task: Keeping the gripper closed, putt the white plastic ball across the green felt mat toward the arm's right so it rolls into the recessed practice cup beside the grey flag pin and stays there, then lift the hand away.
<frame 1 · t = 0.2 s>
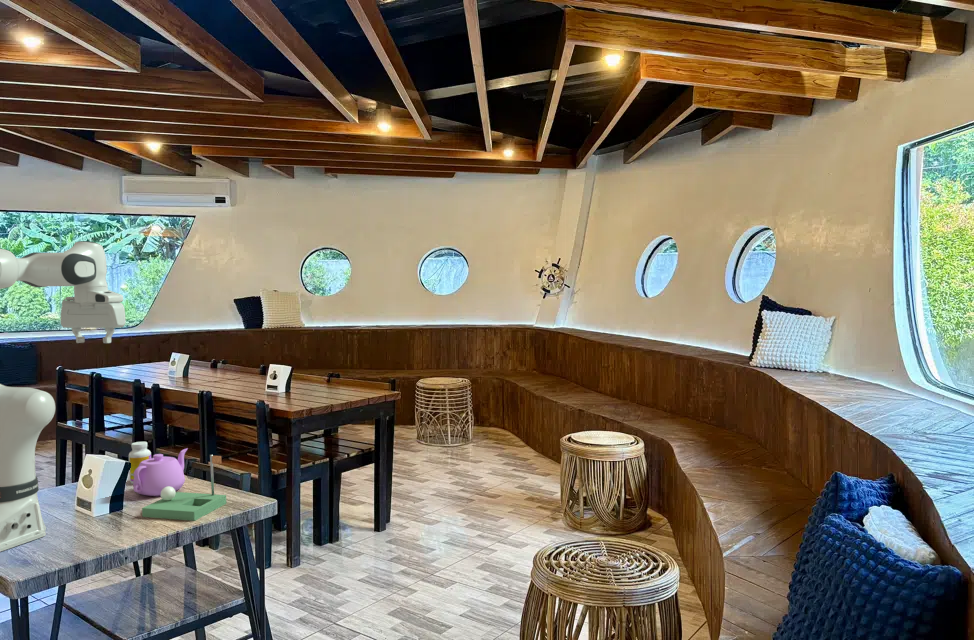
hand: (93, 342, 218), 47 cm above the table, fingers open, 8 cm apart
mat: (185, 509, 210), on the table
teapot: (162, 491, 229), on the table
flag pin: (213, 503, 215), resting on mat
ball: (168, 493, 211), point 4 cm above the table, touching mat
supplement bottle: (141, 482, 239), on the table
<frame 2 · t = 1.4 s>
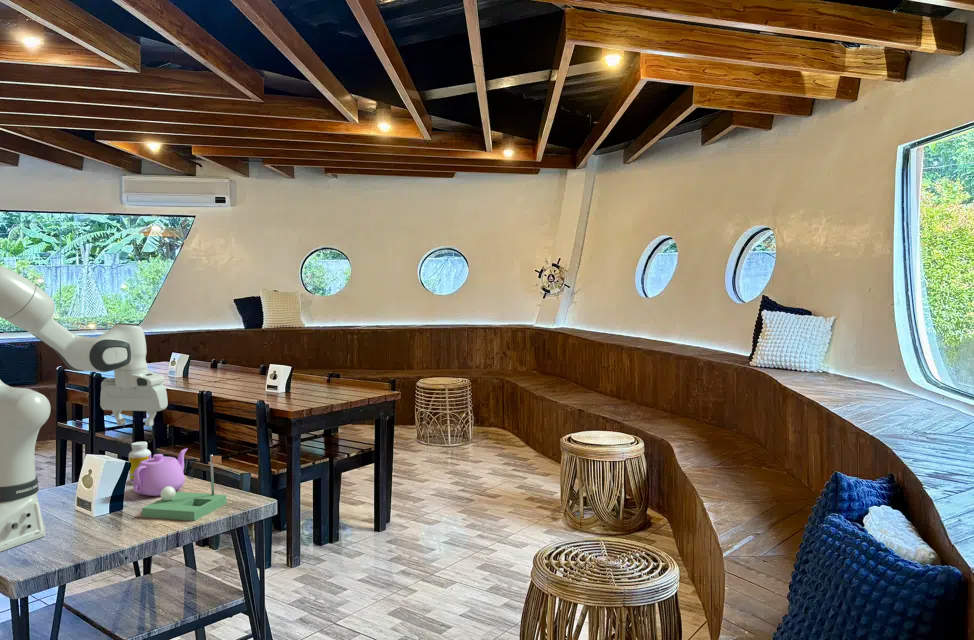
hand: (135, 425, 213), 24 cm above the table, fingers open, 8 cm apart
nothing on the table moved.
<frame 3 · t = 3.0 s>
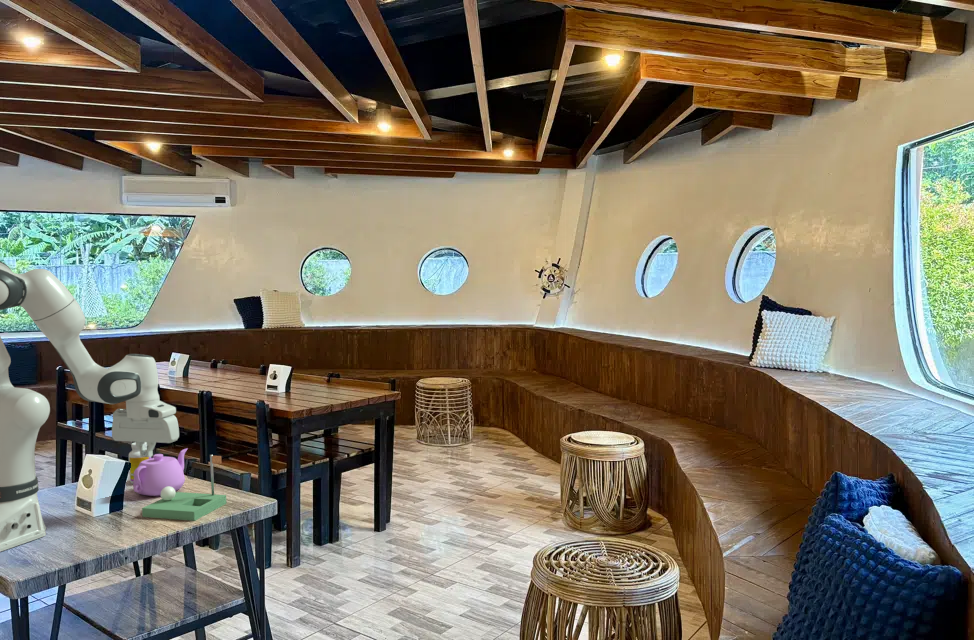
hand: (146, 456, 212), 15 cm above the table, fingers closed
nothing on the table moved.
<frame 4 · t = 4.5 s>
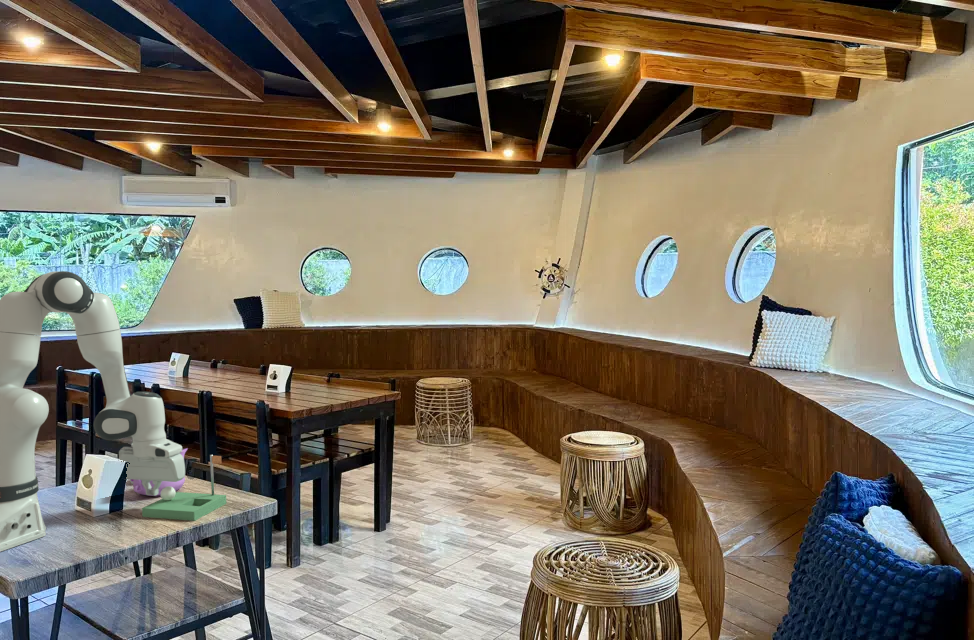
hand: (152, 494, 212), 4 cm above the table, fingers closed
nothing on the table moved.
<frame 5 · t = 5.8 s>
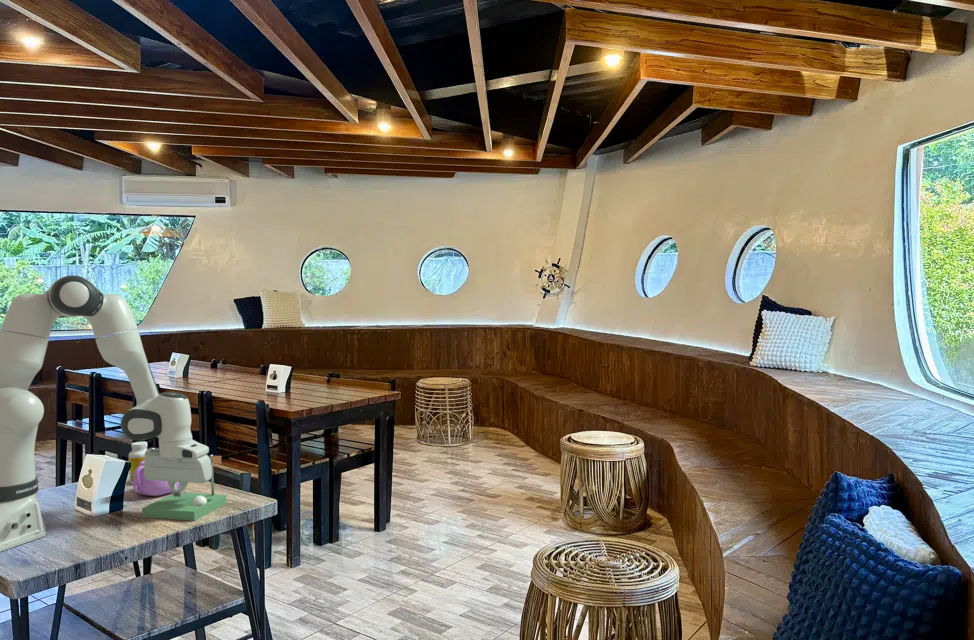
hand: (178, 496, 210), 4 cm above the table, fingers closed
ball: (199, 502, 209), point 2 cm above the table, tilted 53°, touching mat
everything else where it was.
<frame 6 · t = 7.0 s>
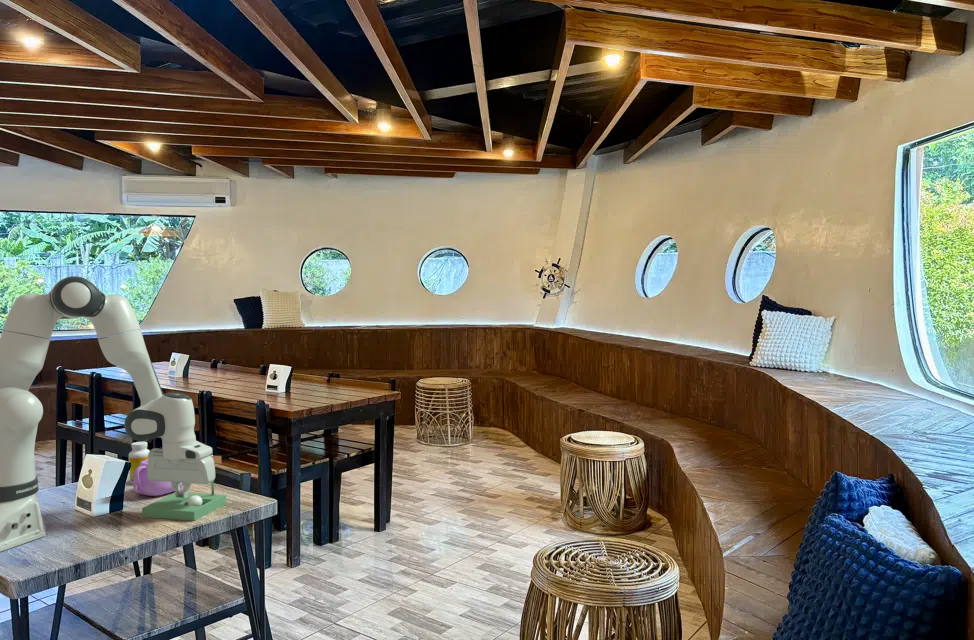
hand: (181, 497, 210), 4 cm above the table, fingers closed
ball: (194, 502, 209), point 2 cm above the table, tilted 97°, touching mat
everything else where it was.
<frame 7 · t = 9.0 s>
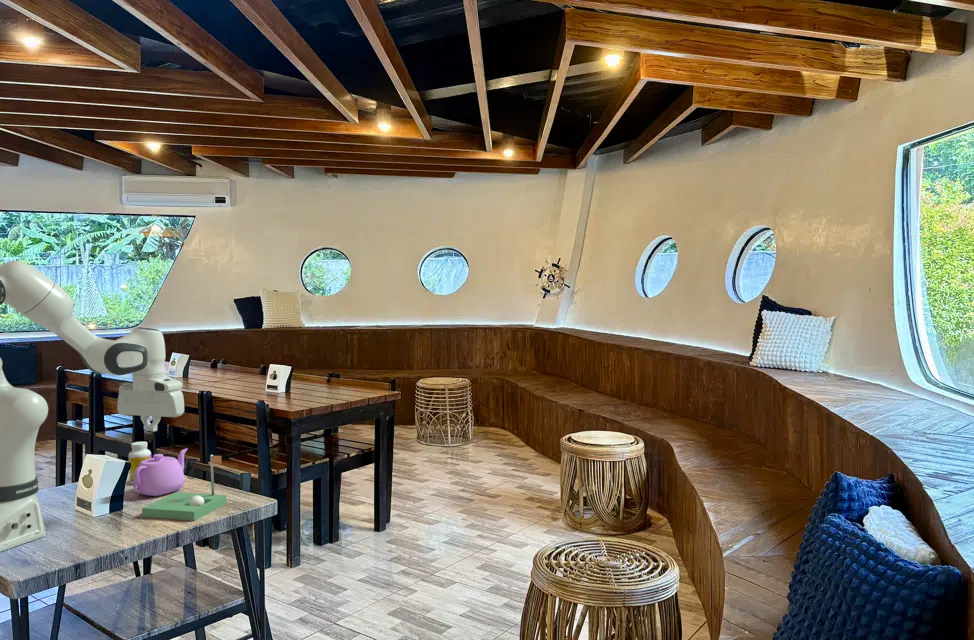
hand: (151, 430, 212), 22 cm above the table, fingers closed
ball: (196, 502, 209), point 2 cm above the table, tilted 79°, touching mat
everything else where it was.
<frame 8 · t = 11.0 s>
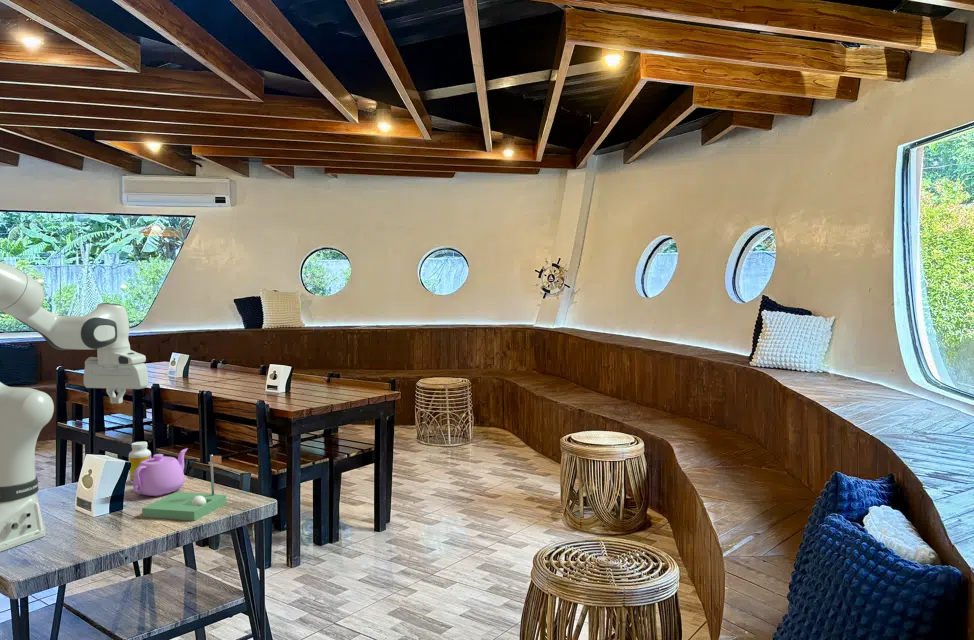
hand: (116, 403, 220), 29 cm above the table, fingers closed
ball: (198, 502, 209), point 2 cm above the table, tilted 60°, touching mat
everything else where it was.
at the end: ball 0.4 cm from the target spot on the mat, point 2.3 cm above the mat's base; ball point 2.3 cm above the table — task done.
